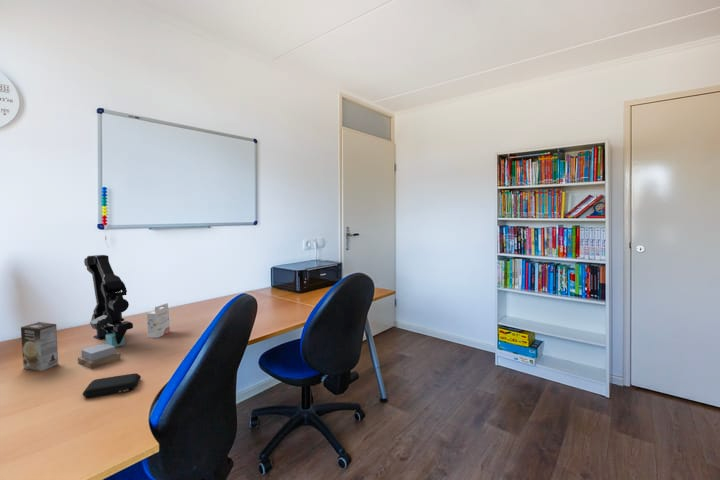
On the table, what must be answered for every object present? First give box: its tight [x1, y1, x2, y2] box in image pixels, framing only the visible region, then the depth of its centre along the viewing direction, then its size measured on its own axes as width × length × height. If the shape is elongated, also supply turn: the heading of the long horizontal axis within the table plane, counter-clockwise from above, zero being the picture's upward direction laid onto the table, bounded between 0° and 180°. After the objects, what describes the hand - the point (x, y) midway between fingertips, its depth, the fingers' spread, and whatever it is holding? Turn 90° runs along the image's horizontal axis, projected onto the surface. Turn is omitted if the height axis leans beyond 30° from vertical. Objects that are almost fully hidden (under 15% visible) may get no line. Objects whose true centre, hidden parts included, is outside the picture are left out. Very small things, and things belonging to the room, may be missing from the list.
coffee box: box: [20, 321, 59, 372], centre depth 129 cm, size 9×6×16 cm
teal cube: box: [105, 333, 126, 348], centre depth 151 cm, size 5×5×5 cm
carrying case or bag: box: [82, 373, 142, 399], centre depth 113 cm, size 11×3×15 cm
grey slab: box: [80, 342, 116, 361], centre depth 134 cm, size 8×8×3 cm
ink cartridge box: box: [146, 303, 171, 339], centre depth 163 cm, size 9×5×15 cm, turn 168°
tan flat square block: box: [77, 351, 121, 370], centre depth 134 cm, size 10×10×3 cm
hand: (115, 342), depth 151 cm, fingers closed on teal cube, 5 cm apart
